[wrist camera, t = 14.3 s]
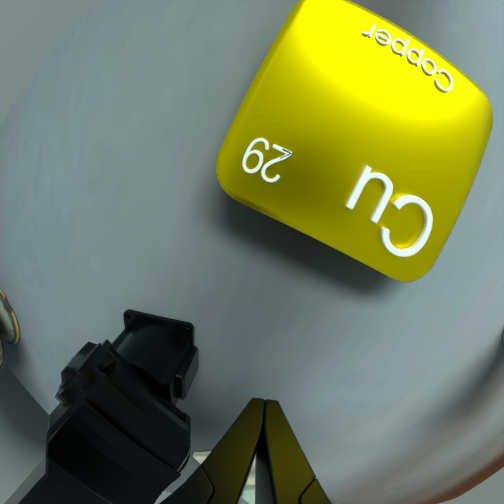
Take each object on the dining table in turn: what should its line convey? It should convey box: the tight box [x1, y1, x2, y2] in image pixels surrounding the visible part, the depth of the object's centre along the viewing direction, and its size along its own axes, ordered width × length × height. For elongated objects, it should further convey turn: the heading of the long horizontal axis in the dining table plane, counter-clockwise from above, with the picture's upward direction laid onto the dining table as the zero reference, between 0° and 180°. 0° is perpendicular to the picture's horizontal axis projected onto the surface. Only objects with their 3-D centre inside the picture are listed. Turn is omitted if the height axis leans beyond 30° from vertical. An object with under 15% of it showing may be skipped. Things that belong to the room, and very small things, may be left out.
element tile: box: [216, 0, 493, 282], centre depth 15 cm, size 15×15×5 cm
